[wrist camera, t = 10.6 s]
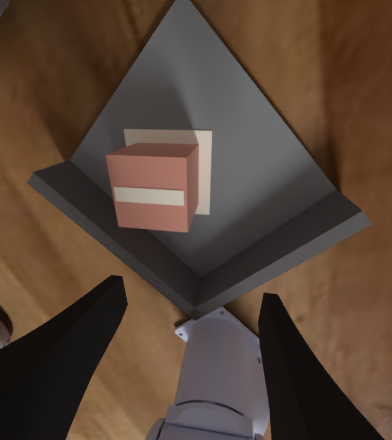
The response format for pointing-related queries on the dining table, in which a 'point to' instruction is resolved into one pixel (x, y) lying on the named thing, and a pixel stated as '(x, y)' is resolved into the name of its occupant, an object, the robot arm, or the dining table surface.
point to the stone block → (3, 6)
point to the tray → (204, 173)
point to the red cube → (155, 185)
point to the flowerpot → (5, 330)
